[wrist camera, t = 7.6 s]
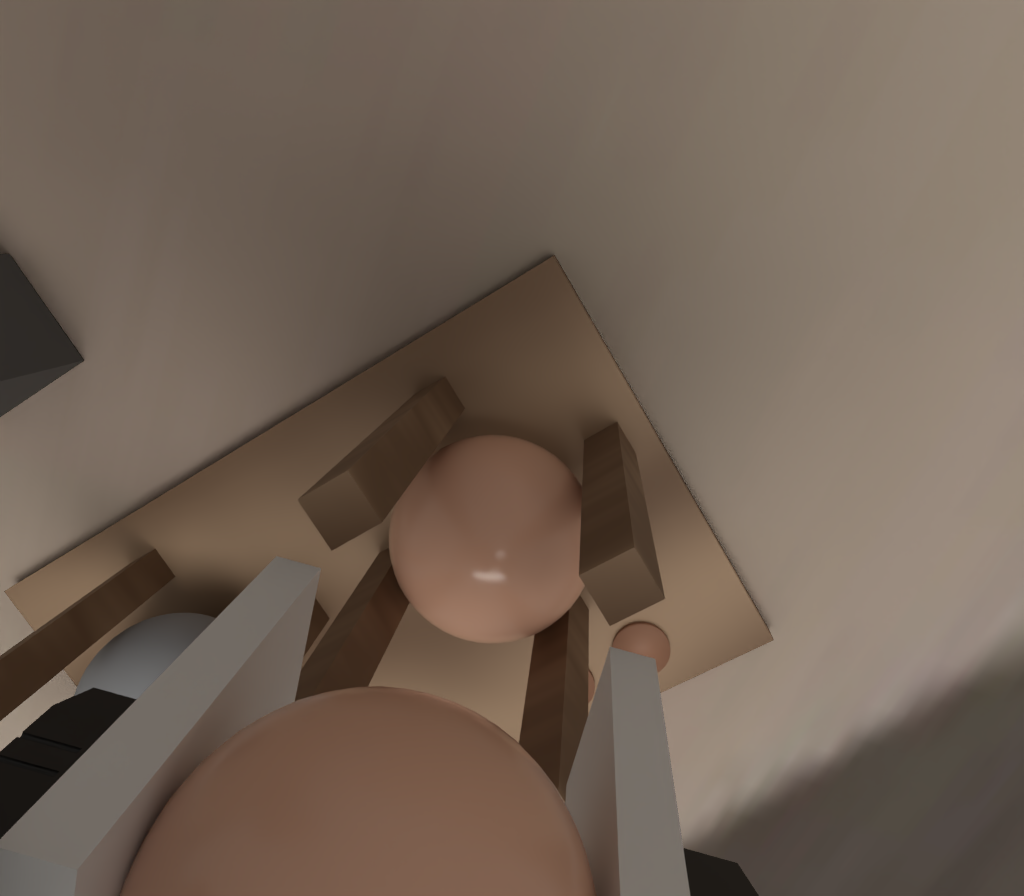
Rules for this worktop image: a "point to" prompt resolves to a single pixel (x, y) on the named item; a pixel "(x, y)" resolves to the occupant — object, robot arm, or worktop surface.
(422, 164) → the worktop surface
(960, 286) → the worktop surface
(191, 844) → the ball loose
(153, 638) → the ball
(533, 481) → the ball
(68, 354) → the stand
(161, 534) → the rack
